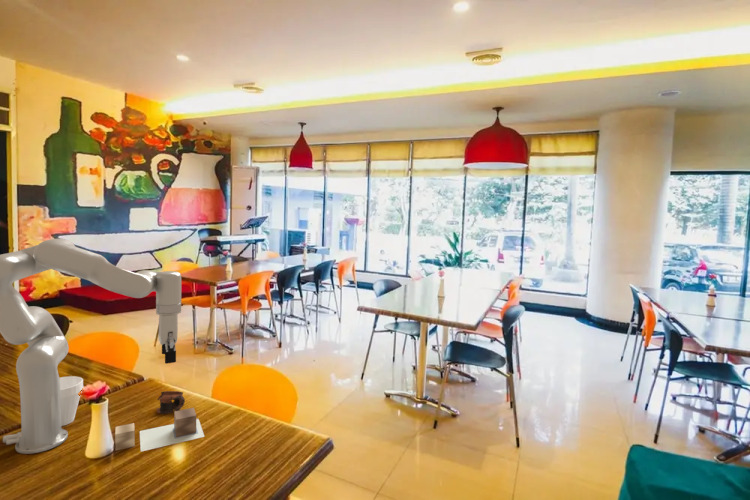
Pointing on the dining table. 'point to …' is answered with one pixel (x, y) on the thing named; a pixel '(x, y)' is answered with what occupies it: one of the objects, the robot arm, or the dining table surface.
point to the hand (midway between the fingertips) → (168, 357)
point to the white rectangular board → (165, 436)
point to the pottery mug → (170, 402)
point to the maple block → (124, 436)
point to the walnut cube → (185, 422)
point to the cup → (69, 397)
